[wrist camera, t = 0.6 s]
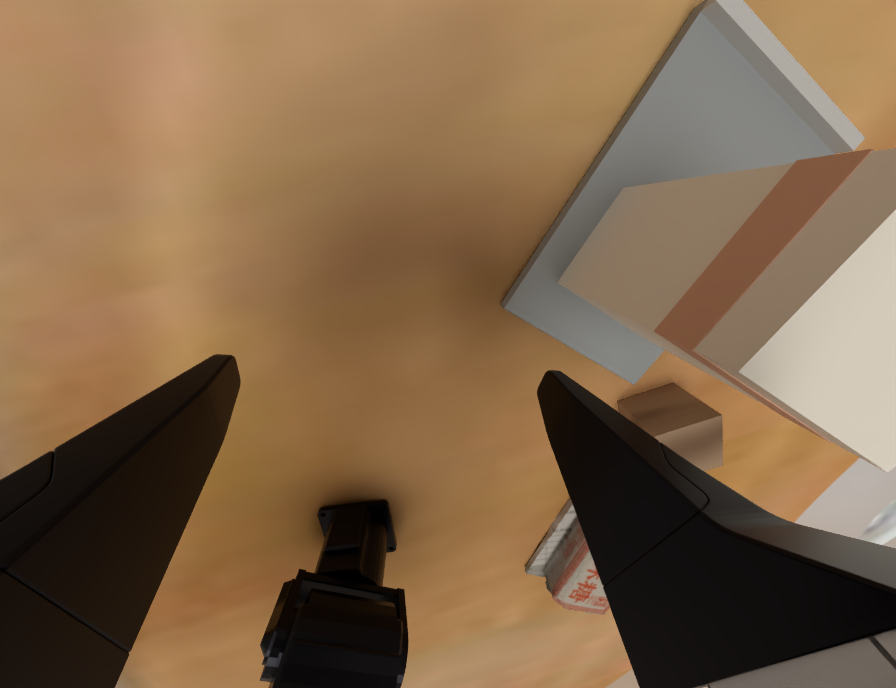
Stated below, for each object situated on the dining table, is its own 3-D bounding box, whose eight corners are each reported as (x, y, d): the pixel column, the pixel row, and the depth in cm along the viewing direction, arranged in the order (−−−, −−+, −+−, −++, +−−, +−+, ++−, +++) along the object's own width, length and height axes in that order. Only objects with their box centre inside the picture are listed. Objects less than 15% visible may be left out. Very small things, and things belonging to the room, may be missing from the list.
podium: (625, 378, 27) (642, 391, 25) (500, 304, 24) (507, 312, 22) (823, 145, 22) (865, 137, 20) (693, 8, 18) (727, -18, 16)
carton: (642, 338, 25) (887, 474, 12) (556, 282, 23) (736, 372, 10) (711, 256, 23) (1098, 309, 10) (623, 186, 21) (966, 134, 8)
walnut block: (676, 426, 30) (722, 465, 25) (623, 443, 30) (660, 484, 25) (672, 382, 28) (722, 415, 23) (616, 400, 28) (654, 436, 24)
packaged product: (620, 626, 33) (536, 612, 31) (597, 577, 38) (522, 562, 36) (732, 501, 27) (636, 474, 26) (688, 461, 32) (604, 436, 30)
